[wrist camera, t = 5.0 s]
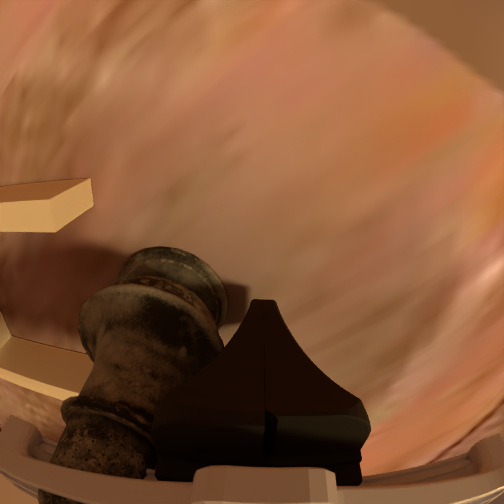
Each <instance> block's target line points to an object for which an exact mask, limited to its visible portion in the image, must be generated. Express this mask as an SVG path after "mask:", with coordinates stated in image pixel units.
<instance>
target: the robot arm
mask: <svg viewBox="0 0 504 504" xmlns="http://www.w3.org/2000/svg"><path fill="white" fill-rule="evenodd" d="M370 432H371V426H370V421H369V418H368V415H367V412H366V410H365V408H364V406H363V403H362V401H361V400H360V399H359V398H357V397H356V396H354V395H353V394H351V393H349V392H348V391H346V390H345V389H343V388H342V387H340V386H339V385H338V384H336V383H335V382H334V381H332V380H331V379H330V378H329V377H328V376H327V375H325V374H324V373H323V372H322V371H321V370H320V369H319V368H318V367H317V366H316V365H315V364H314V363H313V362H312V361H311V360H310V358H309V357H308V356H307V355H306V354H305V353H304V351H303V350H302V349H301V347H300V346H299V345H298V343H297V342H296V340H295V339H294V337H293V336H292V334H291V332H290V331H289V329H288V327H287V325H286V324H285V322H284V320H283V318H282V316H281V314H280V311H279V309H278V306H277V303H276V302H275V301H274V300H260V299H254V300H252V301H251V304H250V307H249V309H248V312H247V314H246V316H245V318H244V320H243V321H242V323H241V325H240V326H239V328H238V330H237V331H236V333H235V334H234V335H233V337H232V338H231V340H230V341H229V342H228V344H227V345H226V346H225V347H224V348H223V350H222V351H221V352H220V353H219V354H218V355H217V356H216V357H215V358H214V359H213V360H212V361H211V362H210V363H209V364H208V365H207V366H206V367H205V368H203V369H202V370H201V371H200V372H198V373H197V374H196V375H195V376H193V377H192V378H191V379H189V380H188V381H186V382H185V383H183V384H182V385H180V386H178V387H177V388H175V389H173V390H172V391H170V392H168V393H166V395H165V397H164V398H163V400H162V402H161V404H160V406H159V408H158V410H157V412H156V414H155V417H154V420H153V424H152V427H151V431H150V433H151V438H152V440H153V442H154V445H155V447H156V449H157V451H158V454H159V458H158V462H157V466H156V470H152V469H147V470H146V473H147V477H145V478H144V480H143V479H133V478H125V477H117V476H110V475H104V474H98V473H92V472H87V471H81V470H77V469H72V468H67V467H63V466H59V465H55V464H51V463H49V462H50V460H51V458H52V455H53V453H54V451H55V449H56V447H57V444H58V443H57V442H55V441H52V440H50V439H47V438H45V437H43V436H42V434H41V433H40V431H39V430H38V429H37V428H36V427H35V426H34V425H32V424H31V423H29V422H27V421H24V420H22V419H20V418H18V417H15V416H13V415H10V416H9V418H8V420H7V421H6V423H5V425H4V427H3V428H2V430H1V432H0V474H2V475H3V476H4V477H5V478H6V479H7V480H9V481H10V482H11V483H12V484H13V485H14V486H16V487H17V488H18V489H20V490H22V491H24V492H25V493H27V494H29V495H31V496H33V497H35V498H36V499H38V498H37V497H38V488H39V489H41V490H43V491H46V492H49V493H52V494H56V495H59V496H62V497H65V498H68V499H71V500H74V501H78V502H81V503H85V504H488V503H489V502H491V501H492V500H494V499H495V498H496V497H498V496H499V495H501V494H502V493H503V492H504V440H503V438H502V435H501V434H496V435H494V436H491V437H488V438H485V439H483V440H480V441H479V442H477V443H476V444H475V445H473V446H472V447H471V449H470V450H469V451H468V453H465V454H462V455H458V456H455V457H452V458H448V459H445V460H441V461H438V462H434V463H430V464H426V465H422V466H418V467H413V468H409V469H404V470H399V471H394V472H388V473H383V474H376V475H370V476H363V477H362V474H361V468H360V463H359V462H361V461H362V456H361V451H360V450H361V448H362V446H363V445H364V443H365V441H366V440H367V438H368V436H369V434H370Z"/></svg>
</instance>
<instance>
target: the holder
mask: <svg viewBox="0 0 504 504" xmlns="http://www.w3.org/2000/svg"><path fill="white" fill-rule="evenodd" d="M92 206H94V203H93V196H92V187H91V178H85V179H71V180H59V181H48V182H37V183H28V184H19V185H10V186H2V187H0V232H57V231H58V230H59V229H61V228H62V227H63V226H65V225H66V224H68V223H69V222H70V221H72V220H73V219H75V218H76V217H78V216H79V215H80V214H82V213H83V212H85V211H86V210H88V209H89V208H91V207H92ZM93 365H94V363H93V362H92V361H91V359H90V358H89V356H88V354H84V353H79V352H74V351H69V350H65V349H60V348H56V347H52V346H48V345H44V344H40V343H36V342H32V341H28V340H24V339H21V338H17V337H14V336H11V334H10V332H9V329H8V327H7V325H6V323H5V320H4V318H3V315H2V313H1V311H0V378H2V379H5V380H7V381H10V382H12V383H15V384H17V385H20V386H23V387H25V388H28V389H31V390H34V391H36V392H39V393H42V394H45V395H48V396H51V397H54V398H57V399H61V400H66V399H67V398H69V397H73V396H78V395H79V393H80V391H81V390H82V388H83V386H84V384H85V382H86V380H87V378H88V376H89V374H90V373H91V371H92V369H93Z"/></svg>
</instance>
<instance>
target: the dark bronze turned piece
mask: <svg viewBox="0 0 504 504" xmlns="http://www.w3.org/2000/svg"><path fill="white" fill-rule="evenodd" d="M227 308H228V299H227V295H226V290H225V287H224V286H223V284H222V282H221V280H220V278H219V276H218V275H217V274H216V273H215V272H214V271H213V270H212V268H211V267H210V266H209V265H208V264H207V263H205V262H204V261H202V260H201V259H199V258H198V257H196V256H195V255H193V254H190V253H188V252H185V251H183V250H180V249H175V248H168V247H157V248H149V249H146V250H143V251H141V252H139V253H137V254H135V255H134V256H133V257H131V258H130V259H129V260H128V261H127V262H126V263H125V264H124V266H123V268H122V270H121V271H120V273H119V277H118V282H117V284H114V285H110V286H108V287H105V288H103V289H100V290H98V291H96V292H95V293H94V294H93V295H92V296H91V297H90V298H89V299H88V300H86V301H85V303H84V305H83V307H82V310H81V312H80V314H79V326H78V330H79V334H80V338H81V341H82V345H83V347H84V349H85V351H86V352H87V354H88V356H89V358H90V359H91V361H92V362H93V363H94V365H93V369H92V371H91V373H90V374H89V376H88V378H87V380H86V382H85V384H84V386H83V388H82V390H81V391H80V393H79V395H78V396H73V397H69V398H67V399H66V400H64V401H63V403H62V406H61V408H60V409H61V415H62V418H63V420H64V421H65V423H66V427H65V429H64V432H63V434H62V436H61V438H60V440H59V442H58V444H57V447H56V449H55V451H54V453H53V455H52V458H51V460H50V462H49V463H51V464H55V465H59V466H63V467H67V468H72V469H77V470H81V471H87V472H92V473H98V474H104V475H110V476H117V477H125V478H133V479H143V480H144V478H145V477H147V473H146V470H147V469H152V470H155V469H156V465H157V462H158V458H159V454H158V451H157V449H156V447H155V445H154V442H153V440H152V438H151V433H150V431H151V427H152V424H153V420H154V417H155V414H156V412H157V410H158V408H159V406H160V404H161V402H162V400H163V398H164V397H165V395H166V393H168V392H170V391H172V390H173V389H175V388H177V387H178V386H180V385H182V384H183V383H185V382H186V381H188V380H189V379H191V378H192V377H193V376H195V375H196V374H197V373H198V372H200V371H201V370H202V369H203V368H205V367H206V366H207V365H208V364H209V363H210V362H211V361H212V360H213V359H214V358H215V357H216V356H217V355H218V354H219V353H220V352H221V351H222V350H223V348H224V344H223V340H222V339H221V337H220V336H219V333H218V330H219V329H220V328H221V327H222V325H223V322H224V320H225V318H226V316H227ZM37 498H38V502H39V504H85V503H81V502H78V501H74V500H71V499H68V498H65V497H62V496H59V495H56V494H52V493H49V492H46V491H43V490H41V489H39V488H38V497H37Z"/></svg>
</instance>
